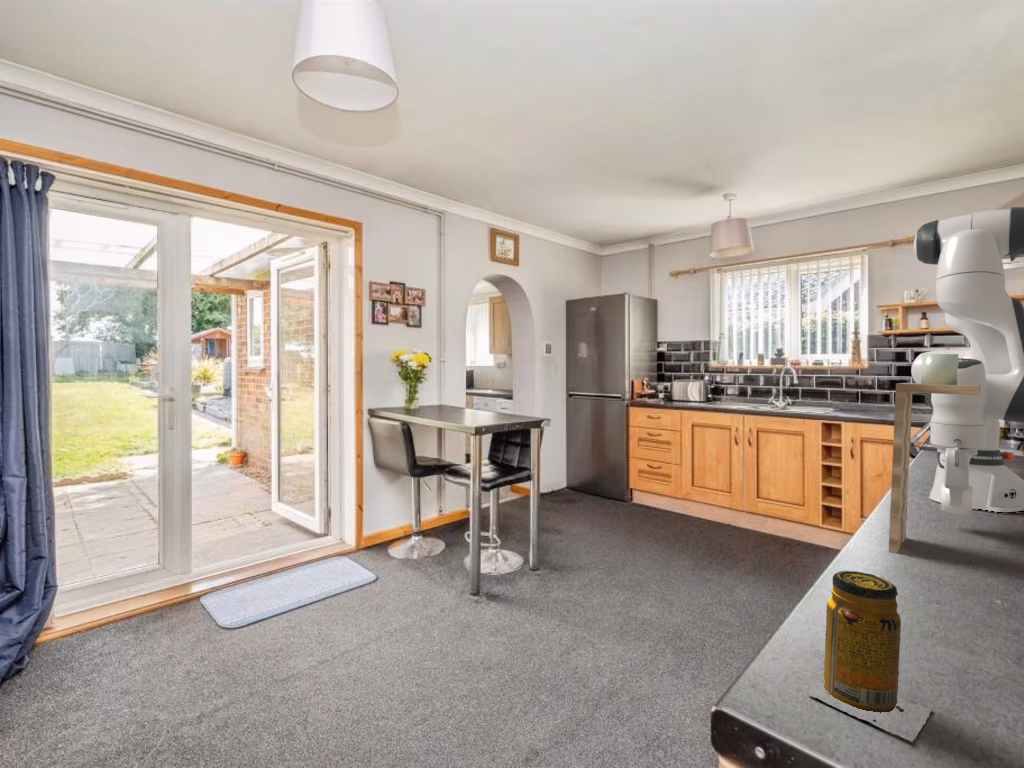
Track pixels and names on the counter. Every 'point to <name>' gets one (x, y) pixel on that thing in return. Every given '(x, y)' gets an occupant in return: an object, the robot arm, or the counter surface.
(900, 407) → the oak counter shelf
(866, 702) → the condiment
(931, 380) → the pale green cylinder
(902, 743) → the counter surface
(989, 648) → the counter surface
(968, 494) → the cream rounded cylinder
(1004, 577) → the counter surface
